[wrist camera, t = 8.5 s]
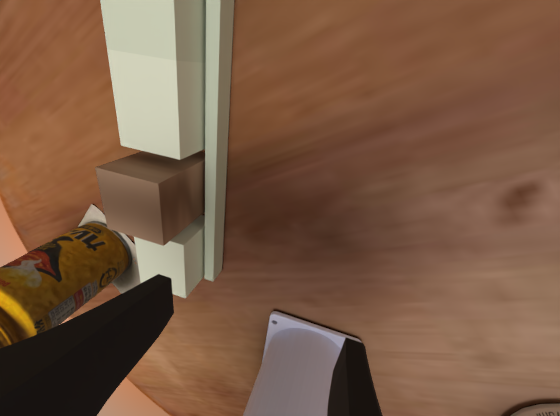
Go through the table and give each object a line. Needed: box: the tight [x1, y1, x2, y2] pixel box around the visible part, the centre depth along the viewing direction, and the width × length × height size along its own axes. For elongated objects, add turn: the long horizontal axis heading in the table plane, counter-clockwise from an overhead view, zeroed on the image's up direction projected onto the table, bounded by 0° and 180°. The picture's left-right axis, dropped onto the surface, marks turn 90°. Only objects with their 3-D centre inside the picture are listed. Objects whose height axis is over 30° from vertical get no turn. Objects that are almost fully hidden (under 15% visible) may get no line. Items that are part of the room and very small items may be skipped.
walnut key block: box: [95, 151, 205, 246], centre depth 18 cm, size 4×4×6 cm
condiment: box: [0, 204, 141, 348], centre depth 22 cm, size 7×8×12 cm
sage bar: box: [100, 0, 234, 298], centre depth 18 cm, size 21×5×4 cm, turn 172°
